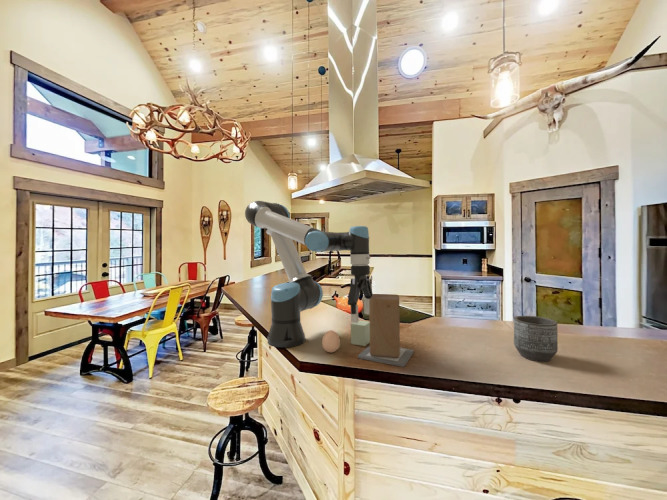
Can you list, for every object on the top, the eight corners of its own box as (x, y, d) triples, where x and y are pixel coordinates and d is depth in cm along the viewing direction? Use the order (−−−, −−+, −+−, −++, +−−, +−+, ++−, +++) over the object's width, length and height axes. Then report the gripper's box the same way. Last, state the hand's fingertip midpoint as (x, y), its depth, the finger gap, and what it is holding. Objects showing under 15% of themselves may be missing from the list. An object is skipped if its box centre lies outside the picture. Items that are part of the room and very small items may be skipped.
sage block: (351, 343, 112) (350, 323, 111) (357, 339, 117) (356, 320, 117) (365, 346, 109) (364, 325, 109) (370, 341, 114) (370, 321, 114)
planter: (567, 362, 91) (567, 323, 91) (535, 365, 89) (534, 325, 89) (534, 349, 103) (534, 314, 103) (505, 351, 101) (505, 316, 101)
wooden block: (399, 359, 94) (399, 299, 93) (369, 356, 96) (368, 298, 96) (399, 348, 103) (399, 294, 103) (372, 346, 106) (371, 293, 105)
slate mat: (357, 358, 97) (357, 355, 97) (371, 345, 110) (371, 342, 110) (403, 367, 90) (403, 364, 90) (413, 352, 102) (413, 349, 102)
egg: (327, 347, 108) (327, 327, 108) (343, 350, 105) (342, 329, 105) (318, 353, 102) (318, 331, 102) (335, 356, 99) (335, 334, 99)
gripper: (356, 267, 99) (357, 327, 100) (379, 263, 122) (380, 312, 122) (337, 267, 103) (339, 324, 103) (363, 263, 125) (364, 310, 125)
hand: (361, 318), depth 112 cm, fingers open, 13 cm apart
